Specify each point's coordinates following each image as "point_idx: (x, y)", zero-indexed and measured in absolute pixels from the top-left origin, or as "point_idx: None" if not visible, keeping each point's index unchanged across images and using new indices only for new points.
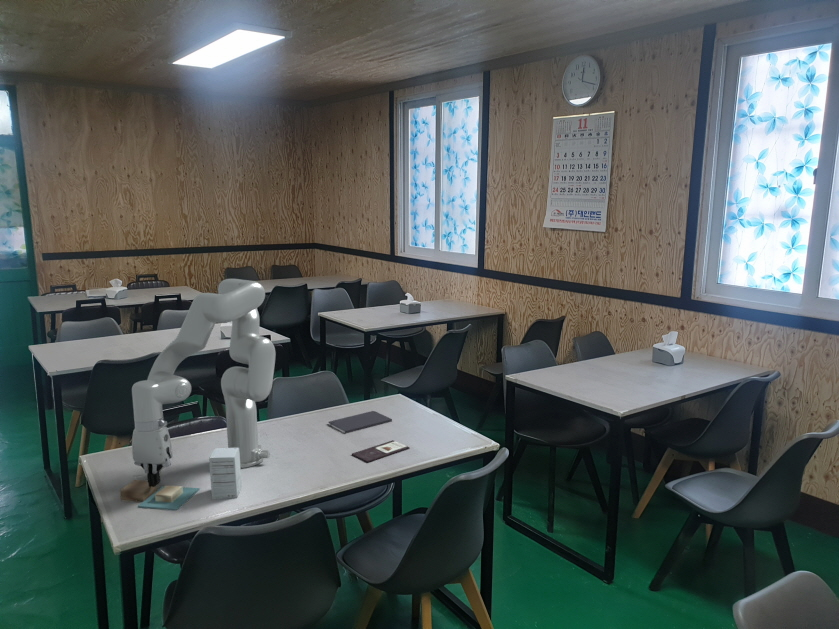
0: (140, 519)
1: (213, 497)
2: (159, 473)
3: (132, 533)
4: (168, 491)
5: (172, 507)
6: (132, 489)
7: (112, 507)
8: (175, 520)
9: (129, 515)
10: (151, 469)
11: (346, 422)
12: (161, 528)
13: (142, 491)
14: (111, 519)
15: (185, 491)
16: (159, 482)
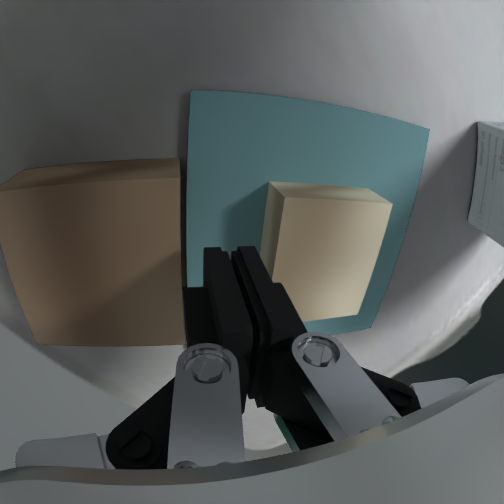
0: None
1: (473, 222)
2: (304, 332)
3: (273, 432)
4: (330, 279)
5: (353, 324)
6: (92, 328)
7: (77, 358)
8: (371, 366)
9: None
10: (241, 405)
11: None
12: None
13: (178, 340)
14: None
15: (376, 170)
16: (252, 248)
